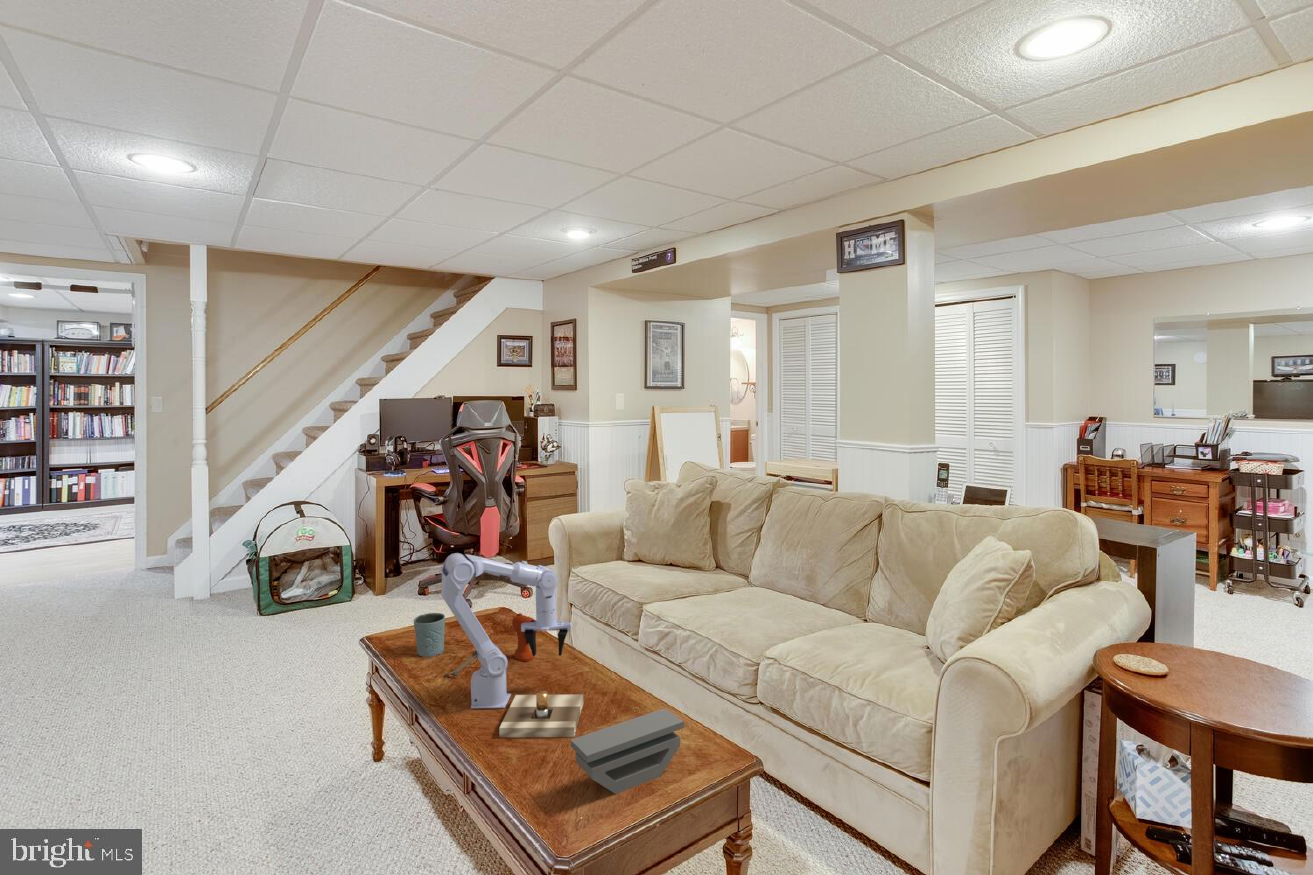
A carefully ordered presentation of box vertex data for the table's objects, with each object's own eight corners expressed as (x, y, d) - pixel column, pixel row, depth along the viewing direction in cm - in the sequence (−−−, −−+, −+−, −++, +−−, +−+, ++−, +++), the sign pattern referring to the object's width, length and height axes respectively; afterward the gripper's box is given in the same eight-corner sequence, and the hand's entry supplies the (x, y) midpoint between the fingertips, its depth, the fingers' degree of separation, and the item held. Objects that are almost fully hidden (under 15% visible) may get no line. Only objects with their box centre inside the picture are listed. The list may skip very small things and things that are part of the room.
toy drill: (545, 668, 205) (540, 620, 205) (511, 659, 218) (506, 614, 218) (558, 663, 208) (552, 615, 208) (523, 654, 221) (519, 610, 222)
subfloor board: (499, 737, 167) (499, 727, 167) (516, 703, 185) (515, 694, 185) (574, 736, 167) (574, 727, 166) (583, 702, 185) (583, 694, 184)
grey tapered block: (588, 805, 139) (586, 755, 138) (571, 786, 146) (570, 739, 145) (684, 766, 153) (683, 721, 152) (665, 751, 159) (664, 707, 158)
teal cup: (434, 644, 230) (433, 610, 229) (452, 650, 224) (451, 616, 223) (408, 654, 221) (407, 619, 221) (427, 660, 216) (425, 625, 215)
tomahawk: (462, 682, 201) (462, 679, 201) (443, 679, 203) (443, 675, 203) (494, 654, 222) (494, 651, 222) (476, 651, 223) (477, 647, 223)
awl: (535, 725, 173) (535, 695, 172) (538, 719, 176) (537, 690, 175) (546, 725, 172) (546, 695, 172) (549, 719, 175) (548, 690, 175)
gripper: (518, 613, 188) (519, 660, 189) (568, 613, 188) (570, 659, 189) (523, 605, 195) (525, 650, 196) (572, 605, 195) (573, 649, 196)
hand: (547, 654), depth 193 cm, fingers open, 7 cm apart
